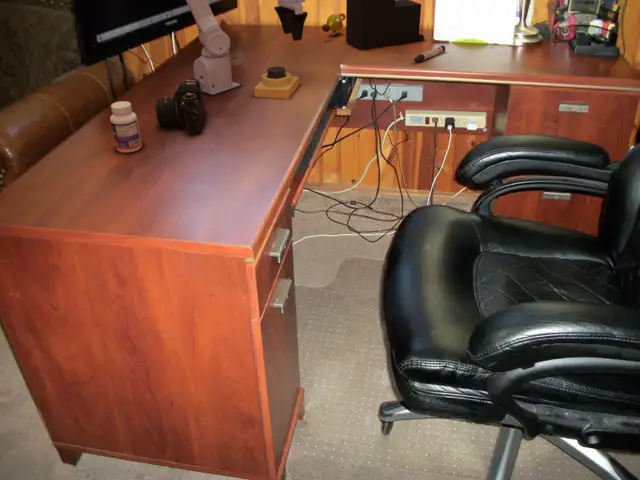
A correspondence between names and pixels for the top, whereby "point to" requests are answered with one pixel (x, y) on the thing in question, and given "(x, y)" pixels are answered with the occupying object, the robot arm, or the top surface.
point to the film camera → (182, 107)
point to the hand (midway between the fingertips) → (292, 36)
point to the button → (276, 72)
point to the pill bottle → (125, 127)
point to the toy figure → (334, 23)
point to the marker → (429, 54)
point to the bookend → (382, 22)
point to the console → (276, 86)
